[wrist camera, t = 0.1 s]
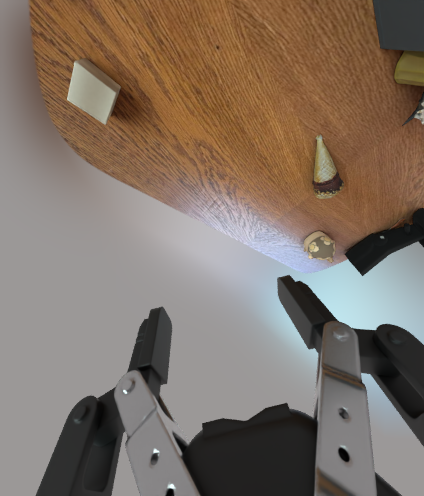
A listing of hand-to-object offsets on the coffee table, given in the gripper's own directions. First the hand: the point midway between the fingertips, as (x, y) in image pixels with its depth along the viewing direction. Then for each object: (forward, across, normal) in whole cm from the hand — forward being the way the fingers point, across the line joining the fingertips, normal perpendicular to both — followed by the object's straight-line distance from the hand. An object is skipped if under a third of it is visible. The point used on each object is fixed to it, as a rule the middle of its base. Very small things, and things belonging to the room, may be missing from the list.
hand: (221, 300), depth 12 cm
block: (+25, +10, -18) cm, 32 cm away
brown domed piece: (+44, -41, +37) cm, 71 cm away
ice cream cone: (+29, -26, -6) cm, 39 cm away
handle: (+47, -62, +38) cm, 87 cm away
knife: (+44, -65, +34) cm, 86 cm away
